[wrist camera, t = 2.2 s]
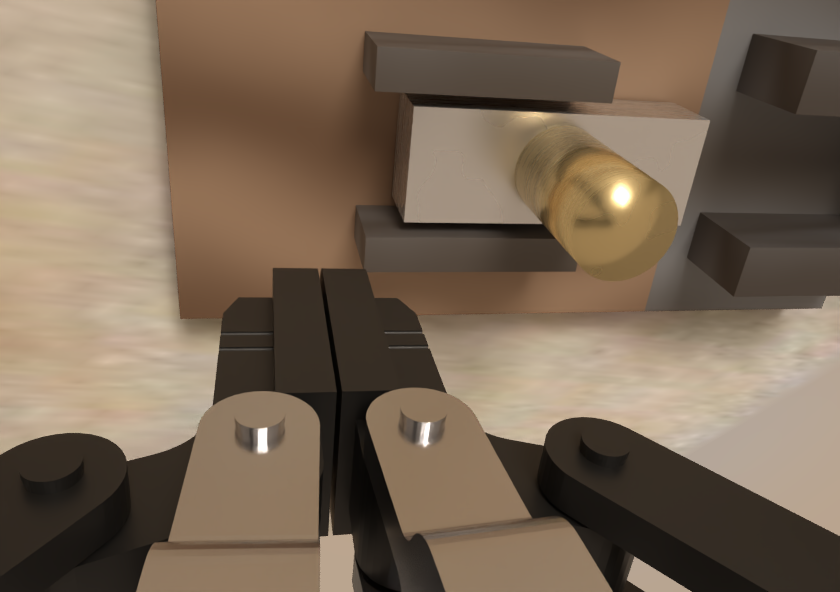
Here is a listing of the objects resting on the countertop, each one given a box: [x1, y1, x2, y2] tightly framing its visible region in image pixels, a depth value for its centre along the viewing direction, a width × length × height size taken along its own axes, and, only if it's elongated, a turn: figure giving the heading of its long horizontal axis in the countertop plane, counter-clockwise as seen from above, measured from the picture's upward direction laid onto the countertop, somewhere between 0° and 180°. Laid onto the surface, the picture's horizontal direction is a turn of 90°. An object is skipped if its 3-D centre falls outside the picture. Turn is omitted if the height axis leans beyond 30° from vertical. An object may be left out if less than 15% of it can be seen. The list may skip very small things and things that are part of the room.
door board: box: [156, 0, 840, 319], centre depth 20 cm, size 11×22×4 cm, turn 85°
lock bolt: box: [392, 93, 710, 281], centre depth 18 cm, size 3×8×6 cm, turn 85°
